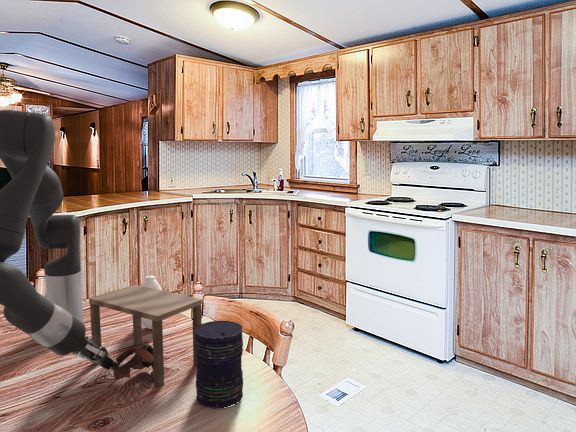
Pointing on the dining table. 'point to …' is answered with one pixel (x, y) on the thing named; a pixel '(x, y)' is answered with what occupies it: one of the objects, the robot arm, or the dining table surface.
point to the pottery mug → (133, 361)
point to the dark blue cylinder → (219, 364)
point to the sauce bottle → (153, 284)
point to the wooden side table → (146, 316)
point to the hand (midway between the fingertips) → (109, 364)
